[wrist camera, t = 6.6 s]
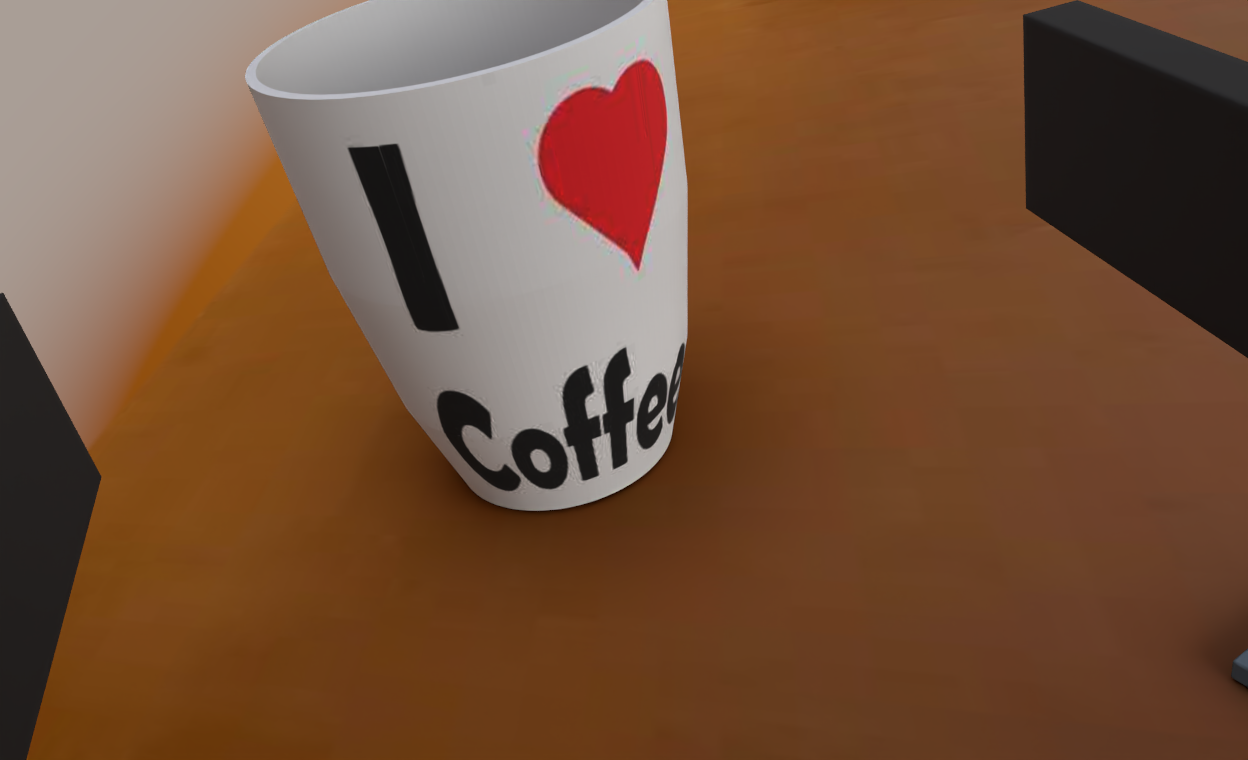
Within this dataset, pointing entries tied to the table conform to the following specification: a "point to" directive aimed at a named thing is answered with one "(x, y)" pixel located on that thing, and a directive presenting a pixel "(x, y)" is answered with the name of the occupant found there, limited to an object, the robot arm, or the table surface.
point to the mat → (1241, 668)
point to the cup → (501, 224)
